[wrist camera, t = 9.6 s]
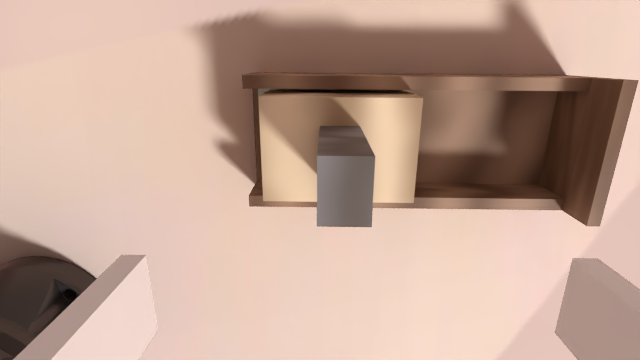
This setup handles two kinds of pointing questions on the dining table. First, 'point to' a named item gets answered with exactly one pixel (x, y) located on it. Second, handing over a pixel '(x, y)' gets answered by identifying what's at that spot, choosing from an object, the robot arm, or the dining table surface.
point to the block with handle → (340, 150)
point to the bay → (493, 137)
